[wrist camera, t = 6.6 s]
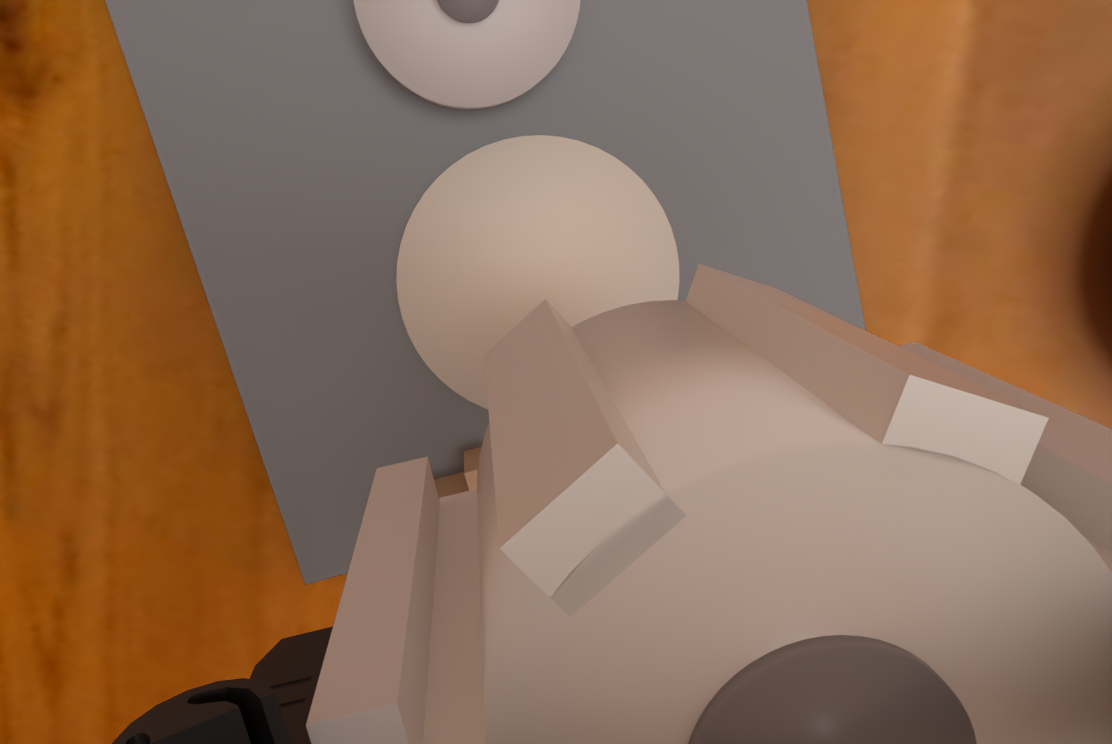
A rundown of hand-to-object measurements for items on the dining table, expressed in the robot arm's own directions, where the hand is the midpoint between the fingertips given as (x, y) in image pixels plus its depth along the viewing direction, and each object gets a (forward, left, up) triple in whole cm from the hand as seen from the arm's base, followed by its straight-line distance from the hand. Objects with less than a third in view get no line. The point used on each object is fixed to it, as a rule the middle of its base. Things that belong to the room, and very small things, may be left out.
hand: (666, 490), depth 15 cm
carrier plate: (0, +3, -15) cm, 16 cm away
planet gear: (0, 0, 0) cm, 0 cm away
